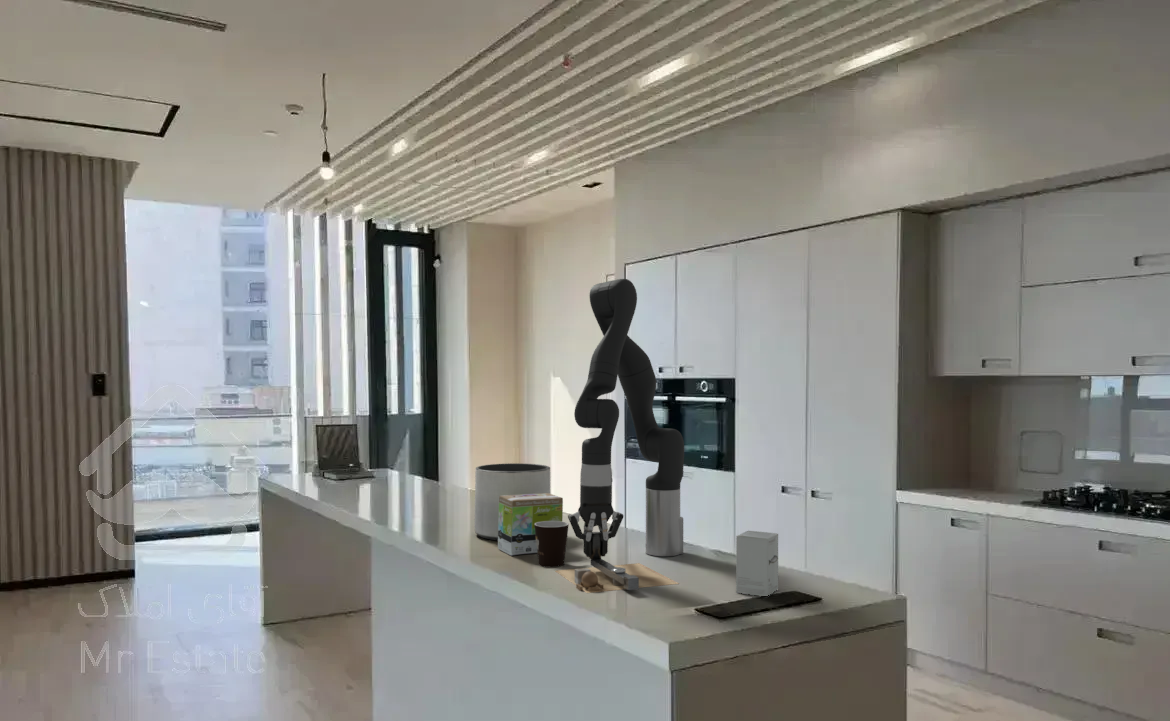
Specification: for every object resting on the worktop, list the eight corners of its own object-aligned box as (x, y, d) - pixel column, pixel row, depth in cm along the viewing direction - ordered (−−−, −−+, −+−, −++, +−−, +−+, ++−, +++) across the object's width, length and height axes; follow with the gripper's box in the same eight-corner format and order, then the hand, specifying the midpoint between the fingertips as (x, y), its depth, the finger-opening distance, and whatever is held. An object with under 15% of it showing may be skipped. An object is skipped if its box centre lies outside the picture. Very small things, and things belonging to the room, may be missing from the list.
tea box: (511, 557, 212) (511, 500, 212) (497, 549, 220) (497, 495, 221) (563, 551, 219) (563, 496, 219) (547, 544, 227) (547, 491, 228)
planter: (509, 525, 257) (509, 461, 257) (565, 533, 244) (566, 466, 244) (458, 536, 239) (458, 468, 239) (516, 545, 225) (517, 473, 226)
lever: (640, 588, 172) (640, 551, 172) (626, 590, 171) (626, 552, 171) (599, 564, 194) (599, 531, 194) (586, 565, 193) (587, 532, 193)
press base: (639, 568, 199) (639, 550, 199) (679, 589, 180) (679, 569, 180) (551, 576, 191) (551, 558, 191) (583, 598, 172) (583, 579, 172)
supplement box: (768, 598, 173) (768, 538, 173) (735, 593, 177) (735, 534, 177) (779, 590, 179) (779, 532, 179) (747, 585, 183) (747, 529, 183)
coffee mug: (564, 568, 198) (564, 527, 199) (530, 567, 200) (530, 526, 200) (574, 558, 210) (574, 519, 210) (542, 556, 212) (542, 518, 212)
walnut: (594, 585, 178) (594, 568, 178) (600, 589, 175) (600, 572, 175) (579, 586, 177) (579, 570, 177) (585, 590, 173) (585, 574, 173)
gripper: (618, 480, 198) (618, 551, 198) (563, 481, 194) (562, 554, 193) (629, 484, 191) (628, 558, 190) (572, 485, 187) (571, 561, 186)
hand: (595, 555), depth 192 cm, fingers closed on lever, 3 cm apart
